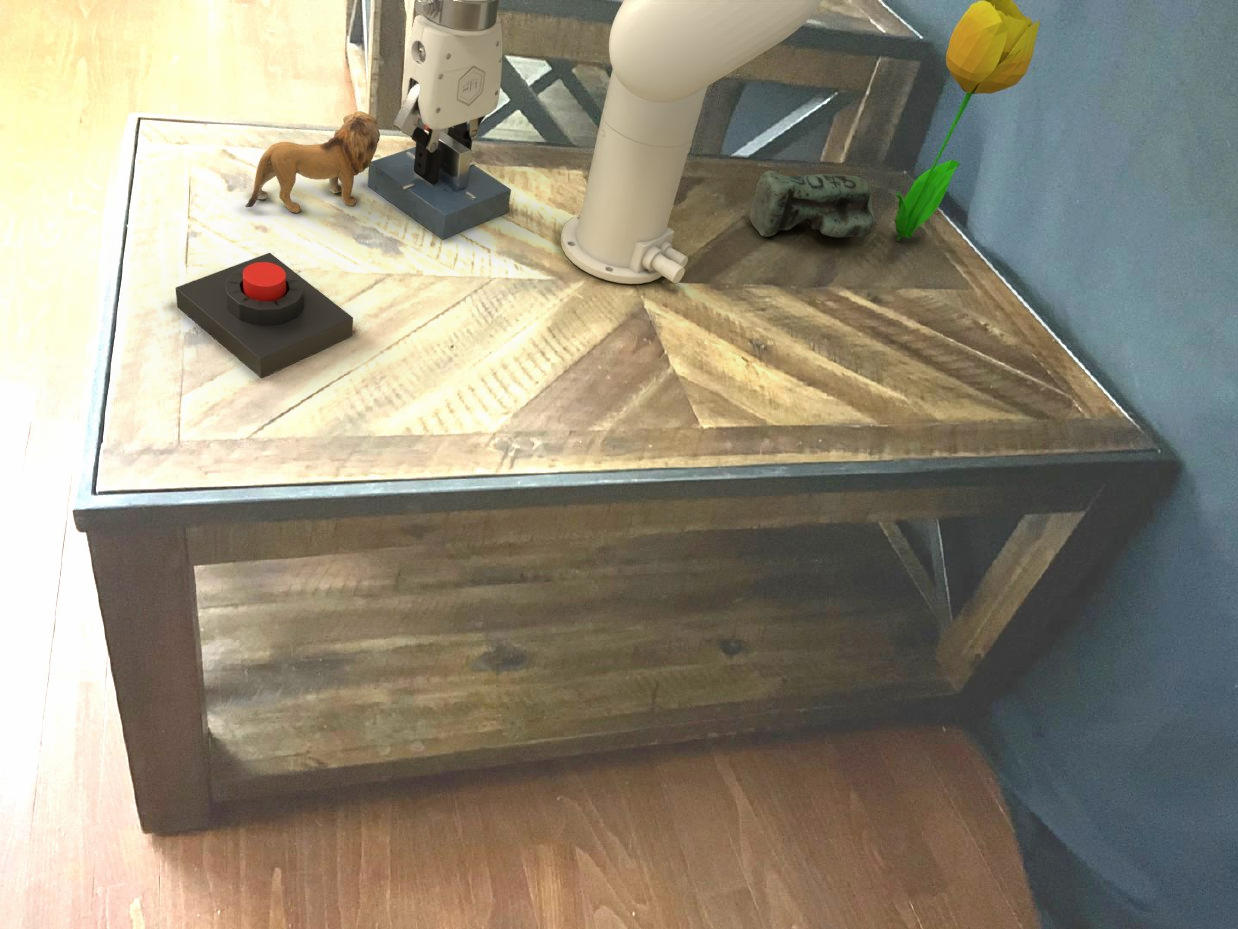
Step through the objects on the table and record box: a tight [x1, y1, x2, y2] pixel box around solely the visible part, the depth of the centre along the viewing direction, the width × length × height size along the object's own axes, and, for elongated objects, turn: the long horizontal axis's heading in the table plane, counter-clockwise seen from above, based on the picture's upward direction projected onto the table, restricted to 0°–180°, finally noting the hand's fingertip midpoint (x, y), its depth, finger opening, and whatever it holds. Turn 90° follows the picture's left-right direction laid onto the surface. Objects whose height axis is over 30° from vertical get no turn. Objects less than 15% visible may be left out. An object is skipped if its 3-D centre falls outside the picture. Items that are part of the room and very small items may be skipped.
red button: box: [243, 262, 286, 301], centre depth 90 cm, size 4×4×2 cm
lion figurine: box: [245, 110, 381, 214], centre depth 105 cm, size 15×5×9 cm, turn 129°
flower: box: [894, 0, 1041, 241], centre depth 120 cm, size 9×8×30 cm
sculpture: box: [749, 170, 876, 238], centre depth 125 cm, size 12×8×15 cm
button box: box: [175, 252, 354, 379], centre depth 92 cm, size 12×10×4 cm
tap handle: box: [424, 125, 472, 191], centre depth 110 cm, size 6×2×5 cm, turn 50°
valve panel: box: [367, 146, 512, 240], centre depth 113 cm, size 12×11×3 cm
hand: (441, 170), depth 111 cm, fingers open, 3 cm apart
